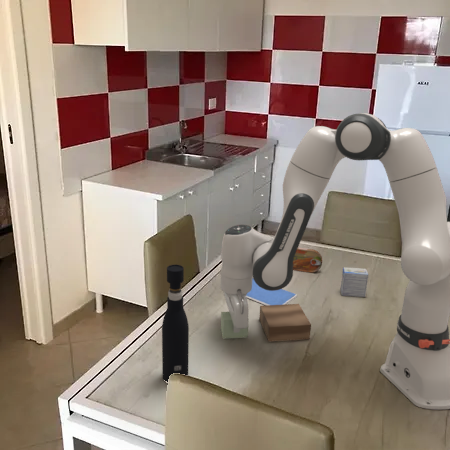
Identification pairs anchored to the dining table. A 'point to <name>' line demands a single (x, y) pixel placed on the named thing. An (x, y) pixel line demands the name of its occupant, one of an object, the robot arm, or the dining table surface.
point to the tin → (307, 260)
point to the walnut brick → (284, 322)
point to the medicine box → (354, 282)
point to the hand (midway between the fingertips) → (234, 325)
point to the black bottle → (175, 327)
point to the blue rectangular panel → (269, 295)
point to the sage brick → (230, 327)
